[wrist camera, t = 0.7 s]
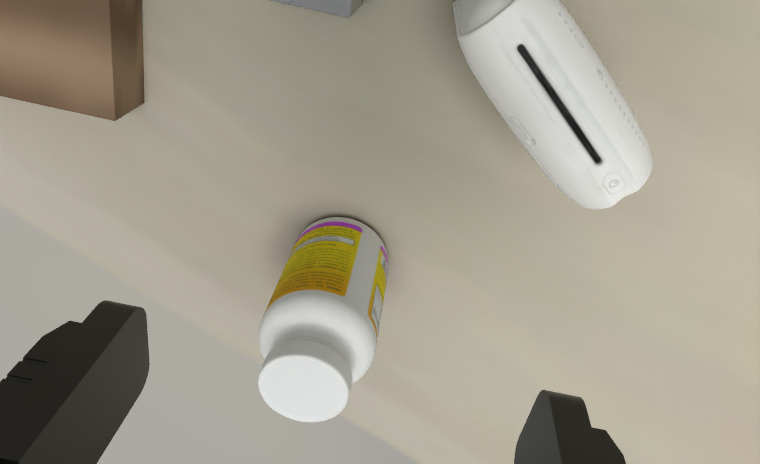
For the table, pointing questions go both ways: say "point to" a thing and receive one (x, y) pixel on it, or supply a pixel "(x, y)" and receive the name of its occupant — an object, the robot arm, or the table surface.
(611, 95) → the photo printer
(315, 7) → the charcoal cube
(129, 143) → the table surface
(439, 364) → the table surface
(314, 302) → the supplement bottle
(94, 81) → the walnut block
